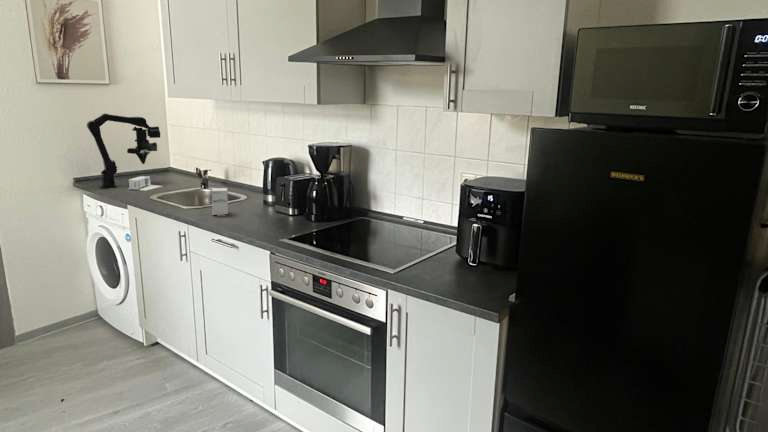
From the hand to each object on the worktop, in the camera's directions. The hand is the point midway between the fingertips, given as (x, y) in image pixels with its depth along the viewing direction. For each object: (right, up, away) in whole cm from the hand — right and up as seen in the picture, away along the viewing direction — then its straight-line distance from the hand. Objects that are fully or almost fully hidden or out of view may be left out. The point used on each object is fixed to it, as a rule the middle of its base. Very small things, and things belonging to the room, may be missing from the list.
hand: (143, 163), depth 315 cm
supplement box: (+66, -31, -59) cm, 93 cm away
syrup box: (+1, -14, -14) cm, 20 cm away
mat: (+4, -15, -5) cm, 16 cm away
